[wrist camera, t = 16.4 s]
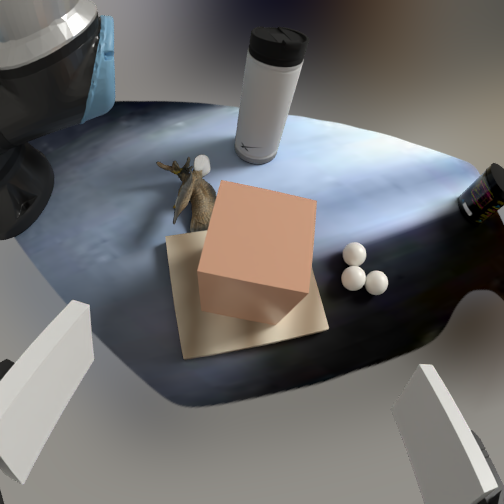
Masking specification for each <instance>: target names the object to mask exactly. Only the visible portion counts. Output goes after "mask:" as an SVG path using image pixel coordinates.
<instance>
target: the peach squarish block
mask: <svg viewBox="0 0 504 504" xmlns="http://www.w3.org/2000/svg"><path fill="white" fill-rule="evenodd" d="M316 205H317V201H315V200H311V199H306V198H302V197H298V196H294V195H289V194H285V193H280V192H276V191H271V190H267V189H262V188H258V187H253V186H248V185H243V184H238V183H233V182H228V181H223V180H221V183H220V186H219V190H218V193H217V197H216V201H215V204H214V208H213V212H212V215H211V219H210V223H209V227H208V230H207V234H206V238H205V242H204V246H203V250H202V254H201V258H200V262H199V266H198V270H197V274H198V284H199V294H200V303H201V311H205V312H209V313H214V314H219V315H224V316H229V317H234V318H239V319H244V320H249V321H255V322H260V323H266V324H271V325H276V324H277V323H278V322H280V321H281V320H282V319H283V318H284V317H285V316H286V315H287V314H288V313H289V312H290V311H291V310H292V309H293V308H294V307H295V306H296V305H297V304H298V303H299V302H300V301H301V300H302V299H303V298H304V297H306V296H307V295H308V294H309V287H310V277H311V267H312V256H313V244H314V232H315V219H316Z"/></svg>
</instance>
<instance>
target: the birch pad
mask: <svg viewBox="0 0 504 504" xmlns="http://www.w3.org/2000/svg"><path fill="white" fill-rule="evenodd" d="M206 234H207V230H206V231H199V232H192V233H185V234H179V235H172V236H165V237H166V246H167V254H168V263H169V270H170V278H171V285H172V293H173V299H174V306H175V313H176V319H177V325H178V331H179V337H180V343H181V348H182V354H183V359H184V360H186V359H192V358H199V357H205V356H211V355H216V354H222V353H227V352H233V351H238V350H243V349H248V348H253V347H258V346H263V345H268V344H272V343H277V342H281V341H286V340H290V339H294V338H299V337H303V336H307V335H311V334H315V333H319V332H323V331H326V330H328V329H329V327H328V323H327V320H326V316H325V312H324V309H323V305H322V302H321V298H320V294H319V291H318V287H317V284H316V281H315V277H314V274H313V270H312V267H311V277H310V287H309V294H308V295H307V296H306V297H304V298H303V299H302V300H301V301H300V302H299V303H298V304H297V305H296V306H295V307H294V308H293V309H292V310H291V311H290V312H289V313H288V314H287V315H286V316H285V317H284V318H283V319H282V320H281V321H280V322H278V323H277V324H276V325H271V324H266V323H260V322H255V321H249V320H244V319H239V318H234V317H229V316H224V315H219V314H214V313H209V312H205V311H201V303H200V294H199V284H198V274H197V270H198V266H199V262H200V258H201V254H202V250H203V246H204V242H205V238H206Z"/></svg>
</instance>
